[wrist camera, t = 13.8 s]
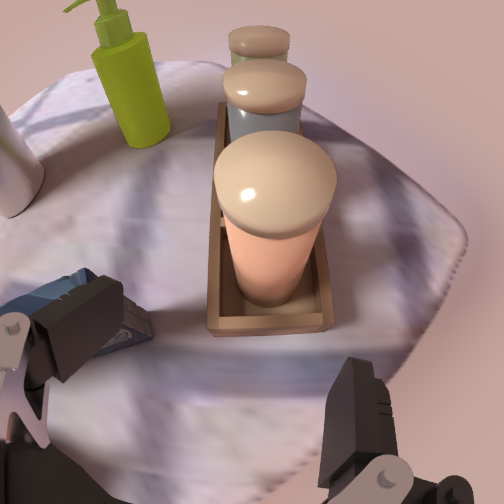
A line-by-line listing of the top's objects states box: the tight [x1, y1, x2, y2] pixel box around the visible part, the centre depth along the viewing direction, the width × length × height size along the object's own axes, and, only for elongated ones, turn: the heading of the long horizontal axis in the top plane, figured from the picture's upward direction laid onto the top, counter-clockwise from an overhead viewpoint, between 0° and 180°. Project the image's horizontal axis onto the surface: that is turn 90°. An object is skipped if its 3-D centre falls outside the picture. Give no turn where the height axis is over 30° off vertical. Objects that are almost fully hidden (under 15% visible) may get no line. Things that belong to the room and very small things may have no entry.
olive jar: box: [228, 26, 290, 66], centre depth 23 cm, size 5×5×12 cm
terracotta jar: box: [214, 130, 337, 308], centre depth 16 cm, size 5×5×12 cm
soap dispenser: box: [63, 0, 171, 148], centre depth 22 cm, size 6×7×20 cm
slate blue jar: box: [223, 59, 307, 143], centre depth 19 cm, size 5×5×12 cm
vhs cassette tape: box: [0, 268, 154, 358], centre depth 16 cm, size 18×3×10 cm, turn 110°
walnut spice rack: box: [207, 102, 335, 337], centre depth 25 cm, size 8×24×4 cm, turn 2°
